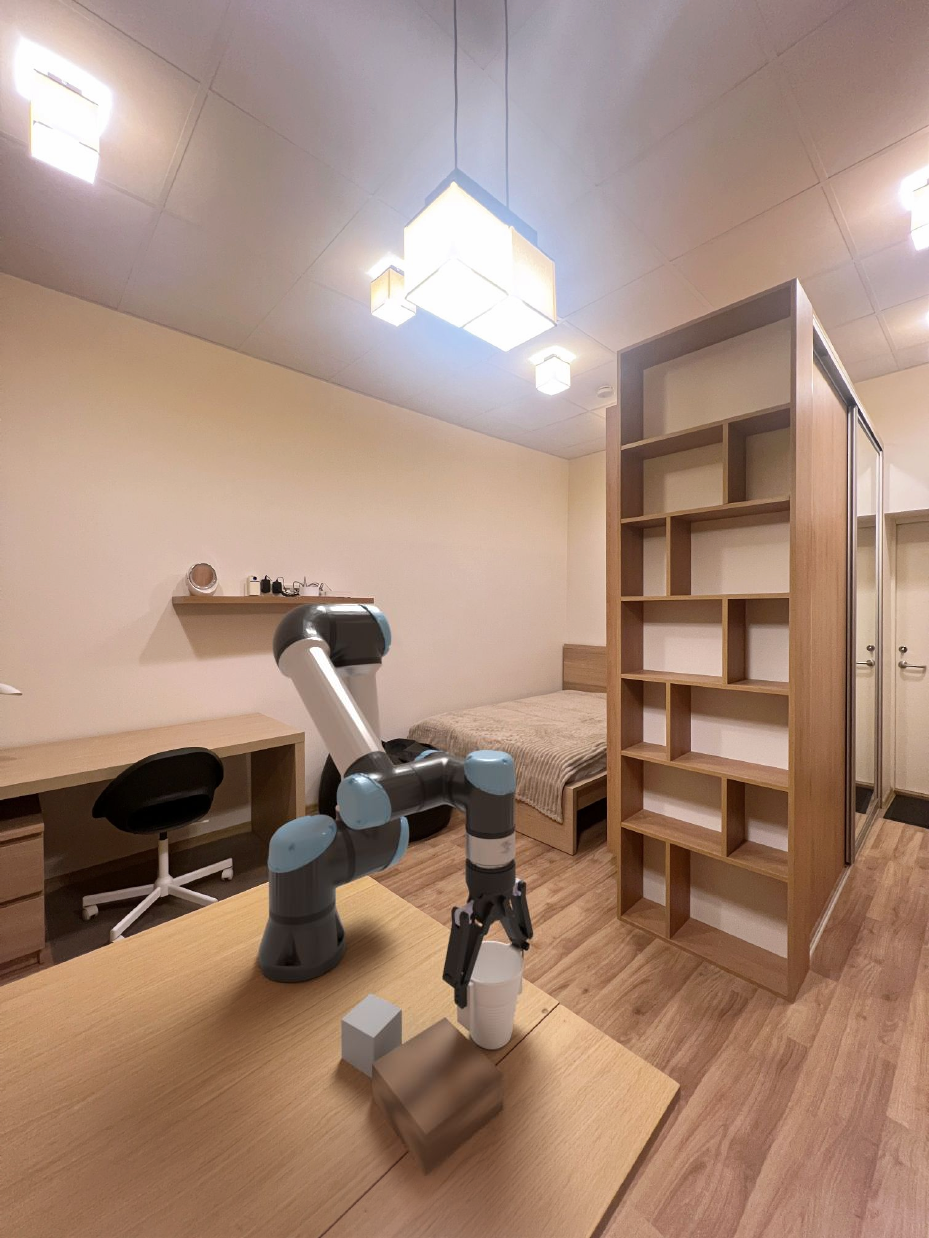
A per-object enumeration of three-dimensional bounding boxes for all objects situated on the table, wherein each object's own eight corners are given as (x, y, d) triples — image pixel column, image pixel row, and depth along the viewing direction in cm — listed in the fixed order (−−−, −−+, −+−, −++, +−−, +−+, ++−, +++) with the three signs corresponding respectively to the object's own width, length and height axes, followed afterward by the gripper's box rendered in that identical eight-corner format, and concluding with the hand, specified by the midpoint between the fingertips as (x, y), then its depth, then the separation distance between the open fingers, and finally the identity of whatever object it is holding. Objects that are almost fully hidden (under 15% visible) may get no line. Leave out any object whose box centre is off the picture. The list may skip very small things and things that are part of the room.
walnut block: (372, 1101, 67) (371, 1063, 67) (445, 1051, 74) (445, 1016, 74) (425, 1178, 58) (425, 1134, 57) (503, 1112, 65) (503, 1073, 65)
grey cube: (341, 1061, 72) (341, 1019, 72) (370, 1032, 78) (370, 992, 78) (373, 1082, 69) (373, 1037, 69) (401, 1050, 74) (401, 1008, 74)
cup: (520, 1068, 71) (521, 988, 71) (451, 1056, 73) (451, 978, 73) (526, 1014, 81) (526, 944, 81) (464, 1005, 83) (465, 936, 83)
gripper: (451, 894, 67) (451, 1066, 67) (556, 843, 82) (556, 983, 82) (415, 873, 72) (416, 1032, 72) (520, 828, 87) (520, 960, 87)
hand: (490, 1006), depth 77 cm, fingers closed on cup, 10 cm apart
